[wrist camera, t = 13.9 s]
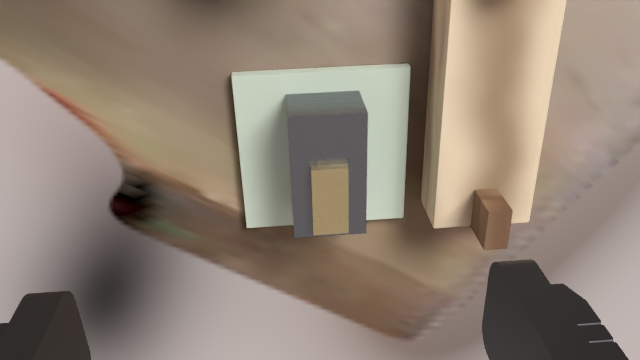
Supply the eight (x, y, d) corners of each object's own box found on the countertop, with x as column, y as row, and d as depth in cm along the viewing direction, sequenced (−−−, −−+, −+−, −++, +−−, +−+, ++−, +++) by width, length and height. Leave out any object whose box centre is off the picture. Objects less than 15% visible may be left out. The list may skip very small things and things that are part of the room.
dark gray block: (291, 207, 45) (294, 242, 41) (285, 94, 40) (288, 120, 36) (358, 203, 45) (367, 237, 41) (359, 90, 41) (369, 116, 37)
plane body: (420, 200, 46) (444, 252, 40) (438, -81, 37) (473, -68, 31) (509, 194, 47) (545, 245, 41) (549, -85, 37) (606, -72, 31)
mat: (247, 222, 46) (246, 228, 45) (231, 72, 40) (231, 75, 39) (401, 212, 47) (403, 217, 46) (408, 63, 41) (410, 66, 40)
